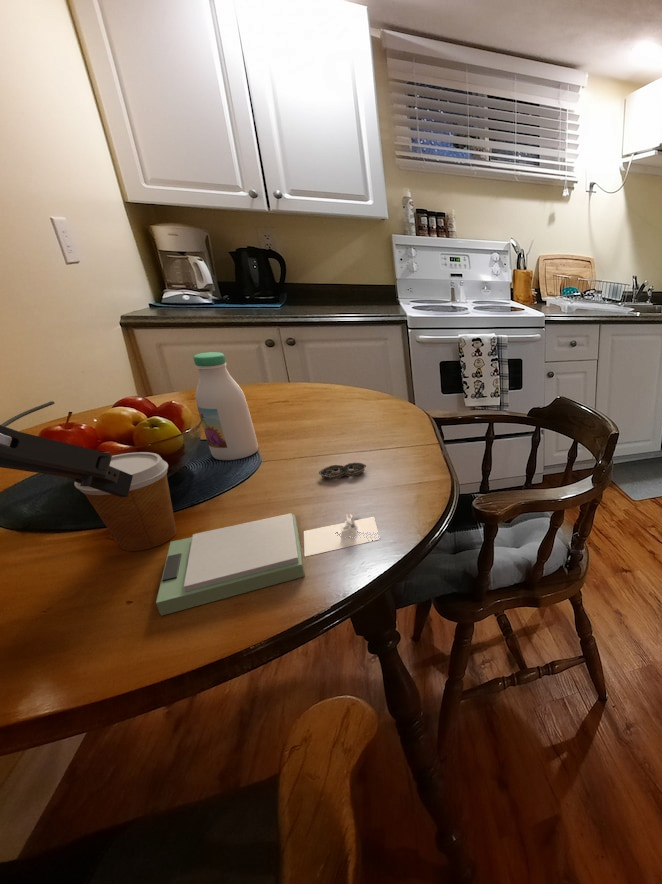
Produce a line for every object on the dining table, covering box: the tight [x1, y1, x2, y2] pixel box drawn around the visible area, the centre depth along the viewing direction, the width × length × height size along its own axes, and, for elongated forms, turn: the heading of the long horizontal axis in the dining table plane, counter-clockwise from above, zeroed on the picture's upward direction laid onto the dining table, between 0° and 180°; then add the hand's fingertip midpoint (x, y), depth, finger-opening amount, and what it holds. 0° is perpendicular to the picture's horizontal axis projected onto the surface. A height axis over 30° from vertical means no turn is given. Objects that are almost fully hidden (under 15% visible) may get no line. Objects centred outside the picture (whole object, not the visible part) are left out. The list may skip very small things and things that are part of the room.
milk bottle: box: [192, 351, 259, 461], centre depth 94 cm, size 8×8×20 cm
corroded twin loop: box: [318, 462, 367, 481], centre depth 92 cm, size 5×8×1 cm, turn 116°
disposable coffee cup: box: [73, 451, 177, 552], centre depth 69 cm, size 10×10×12 cm
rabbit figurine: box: [340, 513, 359, 540], centre depth 75 cm, size 3×3×3 cm
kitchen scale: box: [155, 512, 306, 617], centre depth 67 cm, size 14×15×3 cm
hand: (61, 488), depth 58 cm, fingers open, 13 cm apart
